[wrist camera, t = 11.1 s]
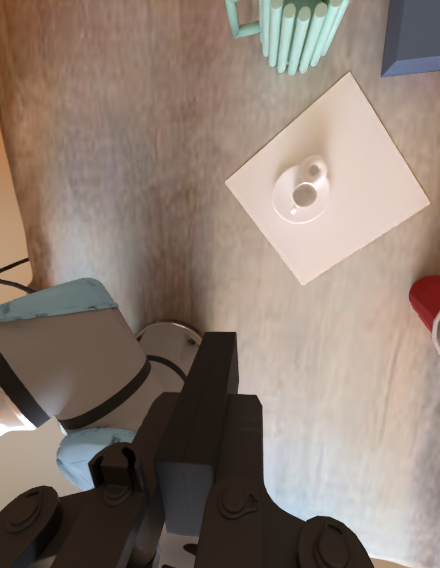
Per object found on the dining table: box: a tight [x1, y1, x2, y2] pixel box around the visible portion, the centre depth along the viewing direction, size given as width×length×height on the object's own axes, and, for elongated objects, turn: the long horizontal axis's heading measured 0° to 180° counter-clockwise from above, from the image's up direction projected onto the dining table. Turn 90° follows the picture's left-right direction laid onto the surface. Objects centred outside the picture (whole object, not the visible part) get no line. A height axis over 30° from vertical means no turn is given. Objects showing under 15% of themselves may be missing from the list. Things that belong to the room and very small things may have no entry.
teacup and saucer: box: [271, 154, 332, 224], centre depth 35 cm, size 9×8×4 cm
